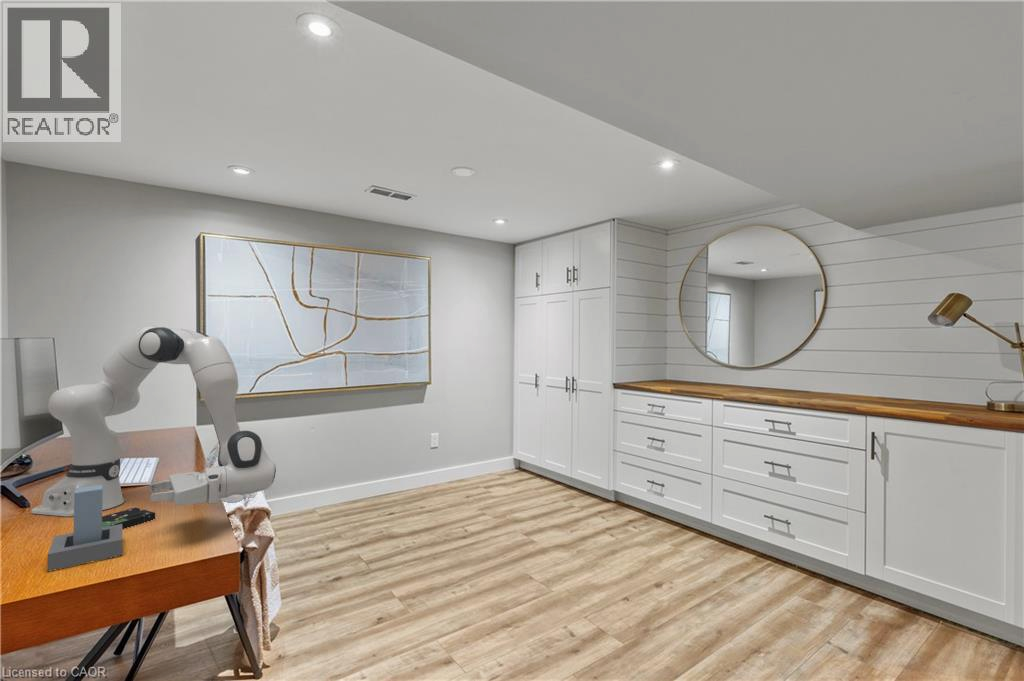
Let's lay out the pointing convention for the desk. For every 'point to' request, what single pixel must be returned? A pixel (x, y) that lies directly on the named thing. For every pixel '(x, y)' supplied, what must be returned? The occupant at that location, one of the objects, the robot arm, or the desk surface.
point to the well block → (84, 548)
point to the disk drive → (128, 518)
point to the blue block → (88, 514)
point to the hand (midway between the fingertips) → (149, 492)
